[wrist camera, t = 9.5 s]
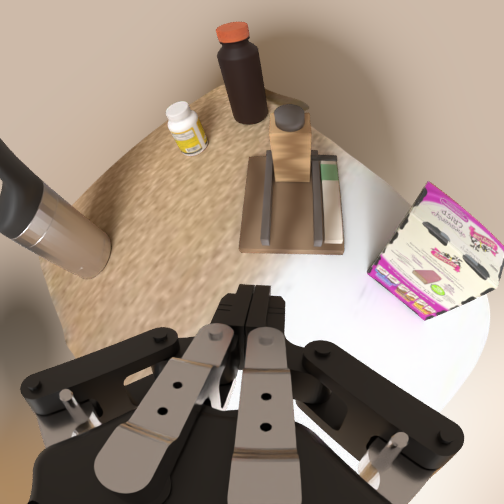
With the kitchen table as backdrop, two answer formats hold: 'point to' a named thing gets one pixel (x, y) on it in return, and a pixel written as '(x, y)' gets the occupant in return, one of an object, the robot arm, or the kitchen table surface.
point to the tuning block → (292, 144)
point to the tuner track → (292, 211)
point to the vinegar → (242, 73)
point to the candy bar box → (439, 256)
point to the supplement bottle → (186, 128)
